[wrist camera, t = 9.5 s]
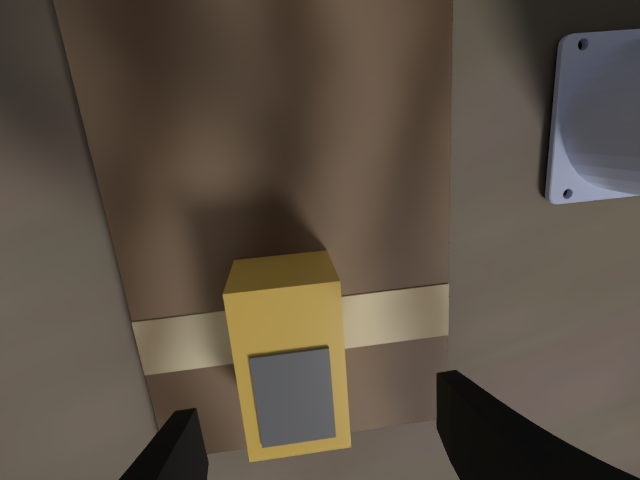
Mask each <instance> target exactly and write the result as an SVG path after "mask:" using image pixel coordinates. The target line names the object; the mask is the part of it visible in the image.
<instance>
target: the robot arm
mask: <svg viewBox="0 0 640 480" xmlns="http://www.w3.org/2000/svg"><path fill="white" fill-rule="evenodd" d="M579 41H581V42H582V48H581V50H580V49H579V48H578V43H579ZM566 189H567V194H566V196H565V197H563V193H564V191H565V190H566ZM629 196H640V29H630V30H615V31H601V32H586V33H573V34H570V35H567V36H564V37H563V38H562V39H561V40H560V42H559V44H558V50H557V62H556V73H555V85H554V96H553V108H552V120H551V131H550V143H549V154H548V166H547V178H546V189H545V198H546V200H547V201H548V202H549V203H552V204H564V203H573V202H583V201H592V200H601V199H611V198H620V197H629ZM436 401H437V430H438V433H439V435H440V438H441V440H442V443H443V445H444V448H445V450H446V452H447V455H448V457H449V460H450V462H451V464H452V466H453V467H454V469H455V471H456V473H457V475H458V477H459V479H460V480H640V478H638V477H635V476H633V475H631V474H629V473H626V472H624V471H622V470H620V469H618V468H615V467H613V466H611V465H609V464H607V463H605V462H603V461H601V460H599V459H597V458H595V457H593V456H591V455H589V454H587V453H586V452H584V451H582V450H580V449H578V448H576V447H574V446H572V445H570V444H568V443H567V442H565V441H563V440H561V439H560V438H558V437H556V436H554V435H553V434H551V433H549V432H548V431H546V430H544V429H543V428H541V427H539V426H538V425H536V424H534V423H533V422H531V421H530V420H528V419H527V418H525V417H523V416H522V415H520V414H519V413H517V412H516V411H514V410H513V409H511V408H510V407H508V406H507V405H505V404H504V403H502V402H501V401H499V400H498V399H497V398H495V397H494V396H492V395H491V394H489V393H488V392H487V391H485V390H484V389H482V388H481V387H479V386H478V385H477V384H475V383H474V382H472V381H471V380H470V379H468V378H467V377H465V376H464V375H462V374H461V373H460V372H458V371H457V370H452V371H445V372H439V373H436ZM208 465H209V463H208V458H207V454H206V449H205V445H204V440H203V436H202V431H201V427H200V422H199V417H198V413H197V408H191V409H184V410H177V411H175V412H174V413H173V414H172V415H171V416H170V418H169V419H168V420H167V421H166V422H165V424H164V425H163V426H162V427H161V429H160V430H159V431H158V432H157V434H156V435H155V436H154V438H153V439H152V440H151V441H150V443H149V444H148V445H147V446H146V448H145V449H144V450H143V451H142V452H141V454H140V455H139V456H138V457H137V458H136V460H135V461H134V462H133V463H132V465H131V466H130V467H129V468H128V469H127V471H126V472H125V473H124V474H123V475H122V476H121V478H120V479H119V480H207V473H208Z"/></svg>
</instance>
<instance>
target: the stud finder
mask: <svg viewBox="0 0 640 480" xmlns="http://www.w3.org/2000/svg"><path fill="white" fill-rule="evenodd" d="M223 300H224V306H225V312H226V318H227V325H228V331H229V337H230V343H231V349H232V356H233V362H234V368H235V374H236V380H237V387H238V393H239V399H240V405H241V412H242V418H243V424H244V430H245V436H246V443H247V449H248V455H249V461H250V462H255V461H262V460H268V459H275V458H282V457H288V456H295V455H302V454H308V453H315V452H322V451H328V450H335V449H342V448H348V447H351V437H350V422H349V406H348V391H347V376H346V360H345V345H344V330H343V314H342V299H341V284H340V279H339V277H338V274H337V272H336V270H335V267H334V265H333V263H332V260H331V258H330V255H329V253H328V251H327V250H324V251H315V252H305V253H296V254H286V255H277V256H268V257H258V258H249V259H239V260H234V262H233V265H232V268H231V271H230V274H229V277H228V280H227V283H226V286H225V289H224V292H223Z"/></svg>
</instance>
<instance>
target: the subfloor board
mask: <svg viewBox="0 0 640 480" xmlns="http://www.w3.org/2000/svg"><path fill="white" fill-rule="evenodd" d="M53 3H54V7H55V11H56V15H57V19H58V23H59V27H60V31H61V35H62V39H63V43H64V47H65V52H66V56H67V60H68V64H69V68H70V72H71V76H72V80H73V84H74V88H75V92H76V96H77V100H78V104H79V108H80V112H81V117H82V121H83V125H84V129H85V133H86V137H87V141H88V145H89V149H90V153H91V157H92V161H93V165H94V169H95V173H96V177H97V182H98V186H99V190H100V194H101V198H102V202H103V206H104V210H105V214H106V218H107V222H108V226H109V230H110V234H111V238H112V242H113V247H114V251H115V255H116V259H117V263H118V267H119V271H120V275H121V279H122V283H123V287H124V291H125V295H126V299H127V303H128V308H129V312H130V316H131V320H132V327H133V331H134V335H135V339H136V343H137V347H138V351H139V355H140V359H141V363H142V367H143V371H144V375H145V377H146V381H147V385H148V389H149V393H150V397H151V401H152V405H153V409H154V413H155V417H156V421H157V425H158V429H159V430H160V429H161V427H162V426H163V425H164V424H165V422H166V421H167V420H168V419H169V418H170V416H171V415H172V414H173V413H174V412H175V411H177V410H184V409H191V408H197V413H198V417H199V422H200V427H201V431H202V436H203V440H204V445H205V449H206V454H211V453H217V452H224V451H231V450H237V449H244V448H247V443H246V436H245V430H244V424H243V418H242V412H241V405H240V399H239V393H238V387H237V380H236V374H235V368H234V362H233V356H232V349H231V343H230V337H229V331H228V325H227V318H226V312H225V306H224V300H223V292H224V289H225V286H226V283H227V280H228V277H229V274H230V271H231V268H232V265H233V262H234V260H239V259H249V258H258V257H268V256H277V255H286V254H296V253H305V252H315V251H324V250H327V251H328V253H329V255H330V258H331V260H332V263H333V265H334V267H335V270H336V272H337V274H338V277H339V279H340V284H341V299H342V314H343V330H344V345H345V360H346V376H347V391H348V406H349V422H350V432H356V431H363V430H369V429H376V428H383V427H389V426H396V425H402V424H409V423H416V422H422V421H429V420H436V419H437V401H436V373H439V372H445V371H447V354H448V325H449V221H450V155H451V89H452V22H453V0H53Z"/></svg>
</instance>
